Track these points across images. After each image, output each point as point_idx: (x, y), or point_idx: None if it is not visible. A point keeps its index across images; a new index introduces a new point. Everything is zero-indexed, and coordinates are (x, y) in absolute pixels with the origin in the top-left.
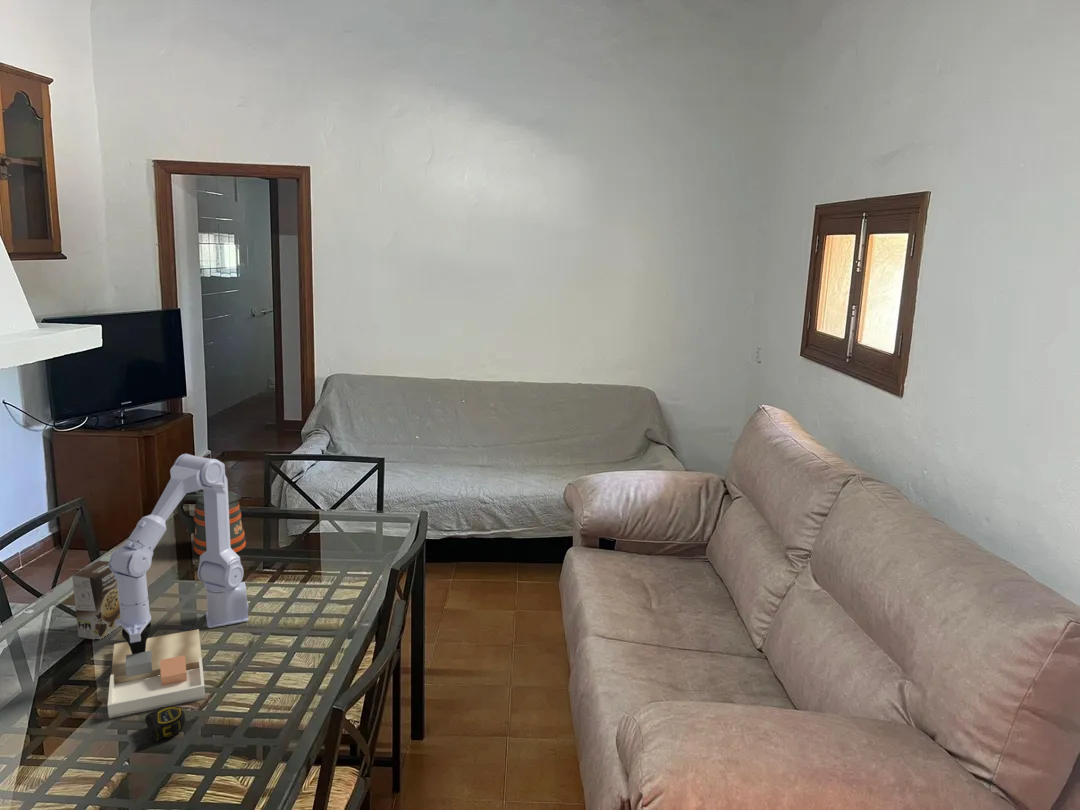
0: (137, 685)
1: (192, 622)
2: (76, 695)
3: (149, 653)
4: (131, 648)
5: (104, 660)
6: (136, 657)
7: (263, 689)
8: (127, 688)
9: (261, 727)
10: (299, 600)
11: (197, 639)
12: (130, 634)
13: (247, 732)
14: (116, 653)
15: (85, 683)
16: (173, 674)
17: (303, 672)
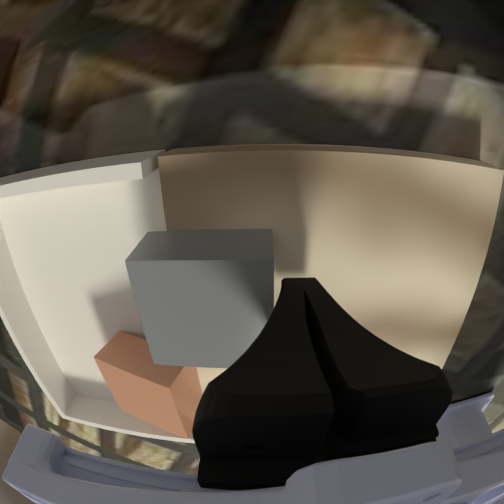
0: None
1: (486, 372)
2: (151, 11)
3: None
4: (270, 317)
5: (437, 112)
6: (220, 311)
7: (110, 451)
8: (114, 223)
9: (19, 416)
10: None
11: None
12: (8, 482)
13: (6, 402)
14: (426, 174)
15: (249, 26)
16: (109, 387)
17: None
